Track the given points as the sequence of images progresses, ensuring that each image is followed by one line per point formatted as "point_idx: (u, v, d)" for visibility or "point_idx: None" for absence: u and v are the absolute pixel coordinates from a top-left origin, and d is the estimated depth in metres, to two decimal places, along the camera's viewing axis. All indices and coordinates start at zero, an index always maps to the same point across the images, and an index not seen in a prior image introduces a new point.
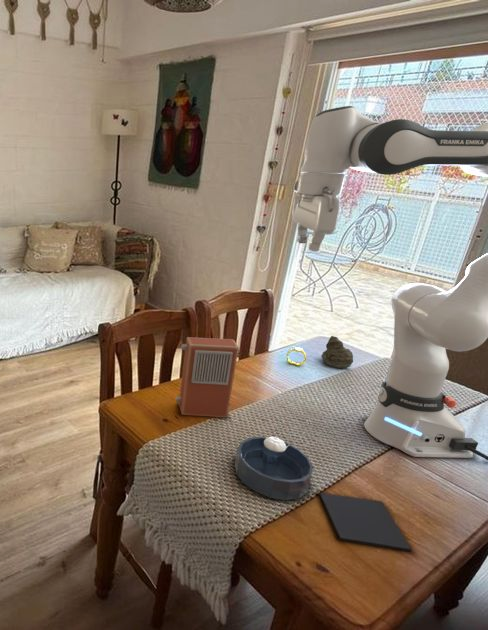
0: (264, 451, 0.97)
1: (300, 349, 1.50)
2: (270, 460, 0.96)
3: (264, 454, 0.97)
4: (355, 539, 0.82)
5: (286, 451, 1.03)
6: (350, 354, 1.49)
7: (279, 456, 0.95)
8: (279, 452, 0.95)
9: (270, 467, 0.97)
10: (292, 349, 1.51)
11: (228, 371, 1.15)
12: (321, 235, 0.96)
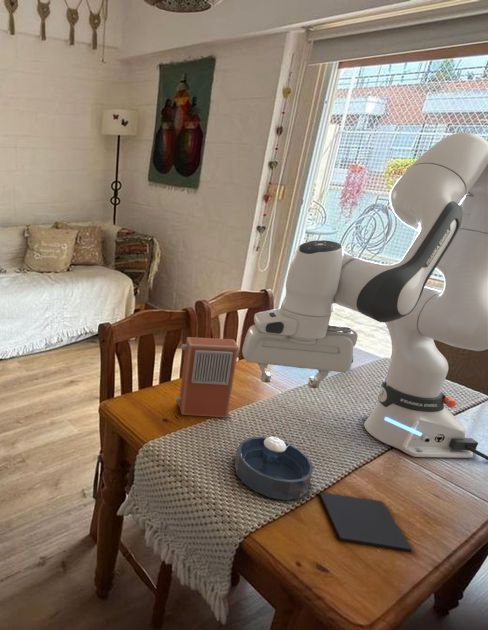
0: (264, 451, 0.97)
1: None
2: (270, 460, 0.96)
3: (264, 454, 0.97)
4: (355, 539, 0.82)
5: (286, 451, 1.03)
6: None
7: (279, 456, 0.95)
8: (279, 452, 0.95)
9: (270, 467, 0.97)
10: None
11: (228, 371, 1.15)
12: None
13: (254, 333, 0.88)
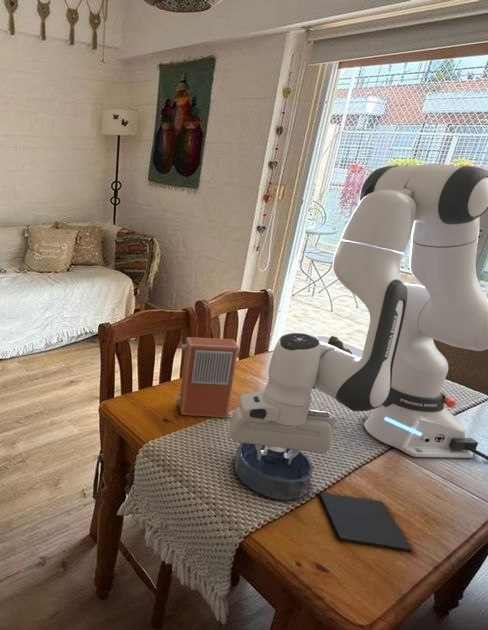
0: (265, 451, 0.97)
1: None
2: (271, 460, 0.96)
3: (265, 454, 0.97)
4: (355, 539, 0.82)
5: (286, 451, 1.03)
6: None
7: (280, 456, 0.95)
8: (280, 452, 0.95)
9: (271, 468, 0.97)
10: None
11: (228, 371, 1.15)
12: None
13: (239, 416, 0.94)
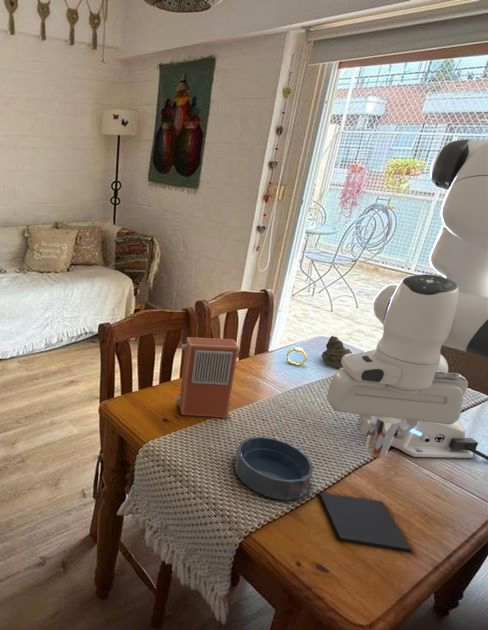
0: (373, 423, 0.80)
1: (300, 349, 1.50)
2: (381, 434, 0.80)
3: None
4: (355, 539, 0.82)
5: (286, 451, 1.03)
6: None
7: (394, 429, 0.78)
8: (394, 424, 0.78)
9: (380, 443, 0.80)
10: (292, 349, 1.51)
11: (228, 371, 1.15)
12: None
13: (345, 380, 0.77)
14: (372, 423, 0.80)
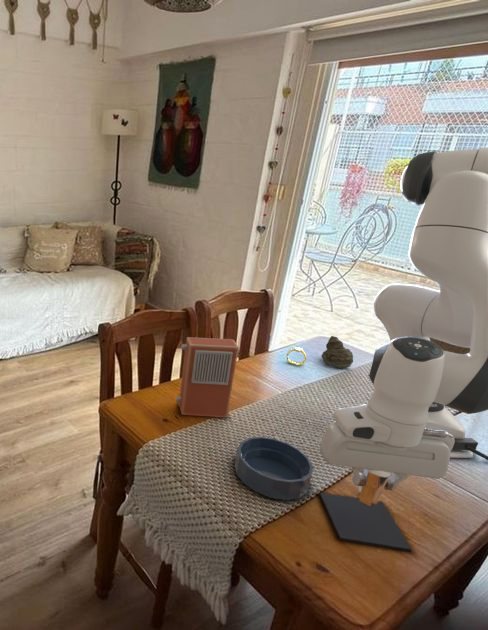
0: (364, 475, 0.83)
1: (300, 349, 1.50)
2: (372, 486, 0.83)
3: None
4: (355, 539, 0.82)
5: (286, 451, 1.03)
6: (350, 354, 1.49)
7: (384, 482, 0.81)
8: (384, 477, 0.81)
9: (371, 494, 0.83)
10: (292, 349, 1.51)
11: (228, 371, 1.15)
12: None
13: (337, 435, 0.81)
14: (363, 475, 0.84)
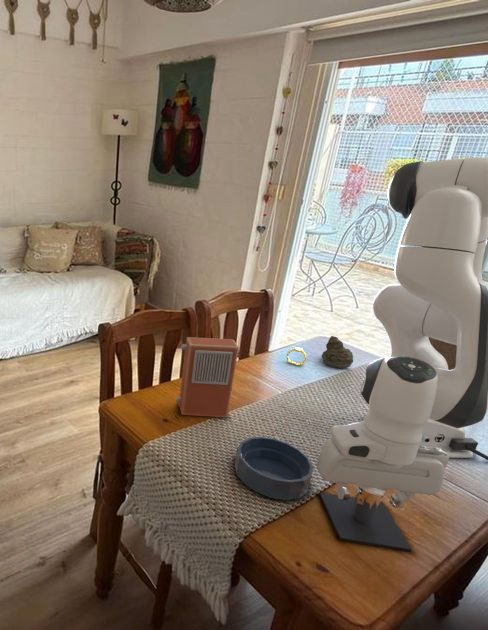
0: (359, 493, 0.85)
1: (300, 349, 1.50)
2: (366, 503, 0.84)
3: (358, 496, 0.85)
4: (355, 539, 0.82)
5: (286, 451, 1.03)
6: (350, 354, 1.49)
7: (378, 500, 0.83)
8: (378, 495, 0.83)
9: (366, 512, 0.85)
10: (292, 349, 1.51)
11: (228, 371, 1.15)
12: None
13: (334, 453, 0.82)
14: (358, 492, 0.85)
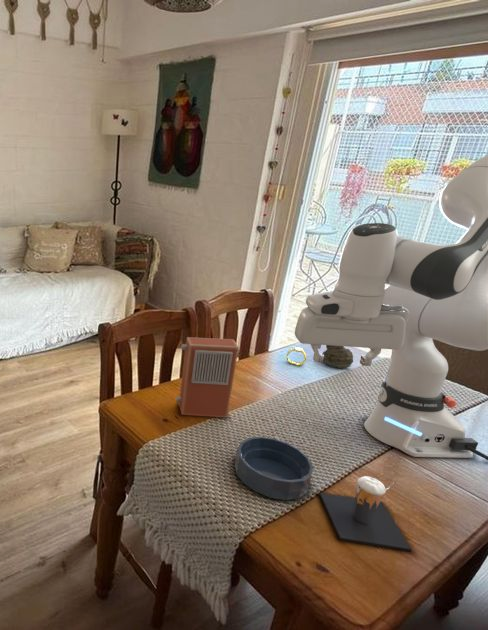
0: (358, 493, 0.85)
1: (300, 349, 1.50)
2: (366, 503, 0.84)
3: (358, 496, 0.85)
4: (355, 539, 0.82)
5: (286, 451, 1.03)
6: (350, 354, 1.49)
7: (378, 500, 0.83)
8: (378, 495, 0.83)
9: (366, 512, 0.85)
10: (292, 349, 1.51)
11: (228, 371, 1.15)
12: None
13: (308, 315, 0.92)
14: (358, 492, 0.85)
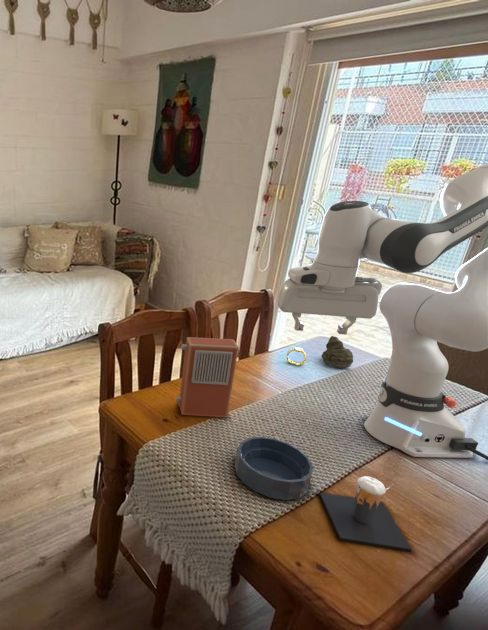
0: (358, 493, 0.85)
1: (300, 349, 1.50)
2: (366, 503, 0.84)
3: (358, 496, 0.85)
4: (355, 539, 0.82)
5: (286, 451, 1.03)
6: (350, 354, 1.49)
7: (378, 499, 0.83)
8: (378, 495, 0.83)
9: (366, 512, 0.85)
10: (292, 349, 1.51)
11: (228, 371, 1.15)
12: None
13: (289, 285, 1.00)
14: (358, 492, 0.85)
